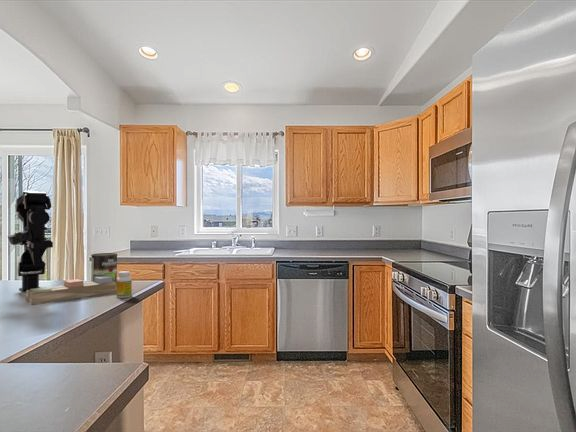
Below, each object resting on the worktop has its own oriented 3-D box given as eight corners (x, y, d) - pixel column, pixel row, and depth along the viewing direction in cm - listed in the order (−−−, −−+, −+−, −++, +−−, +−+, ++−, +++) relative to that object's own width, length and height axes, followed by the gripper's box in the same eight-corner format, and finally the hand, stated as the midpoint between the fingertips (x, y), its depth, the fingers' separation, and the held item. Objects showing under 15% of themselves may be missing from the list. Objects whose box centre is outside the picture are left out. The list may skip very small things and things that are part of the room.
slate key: (94, 286, 148) (94, 277, 148) (106, 285, 152) (106, 275, 152) (99, 288, 145) (99, 278, 145) (112, 286, 149) (112, 277, 149)
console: (25, 301, 131) (26, 290, 131) (108, 288, 154) (108, 279, 154) (32, 304, 127) (32, 293, 127) (115, 291, 149) (116, 282, 149)
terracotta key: (64, 291, 140) (64, 280, 140) (78, 289, 144) (78, 279, 144) (69, 293, 137) (69, 282, 137) (83, 291, 140) (83, 280, 140)
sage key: (30, 299, 132) (30, 288, 131) (46, 297, 135) (46, 286, 135) (34, 302, 128) (34, 291, 128) (50, 299, 132) (51, 289, 132)
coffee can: (121, 285, 161) (122, 254, 161) (99, 289, 152) (99, 256, 152) (108, 282, 167) (108, 252, 166) (85, 286, 158) (86, 254, 158)
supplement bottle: (125, 298, 138) (125, 273, 138) (113, 297, 139) (113, 272, 139) (134, 295, 143) (134, 271, 143) (122, 294, 144) (122, 270, 144)
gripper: (3, 223, 139) (3, 264, 139) (17, 225, 126) (16, 270, 127) (37, 223, 147) (37, 261, 147) (53, 225, 135) (53, 267, 135)
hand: (35, 265), depth 139 cm, fingers closed
